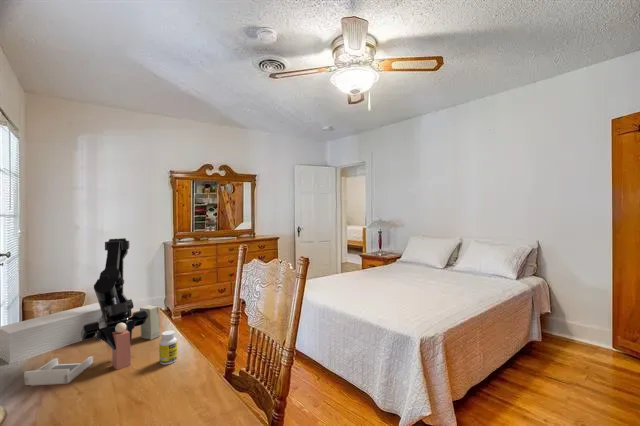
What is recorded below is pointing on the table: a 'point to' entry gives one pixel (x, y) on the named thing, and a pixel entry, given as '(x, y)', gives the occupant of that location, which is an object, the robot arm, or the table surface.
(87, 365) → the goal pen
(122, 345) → the foosball player
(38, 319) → the ridged white long block
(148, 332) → the skincare box
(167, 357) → the supplement bottle
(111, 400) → the table surface
